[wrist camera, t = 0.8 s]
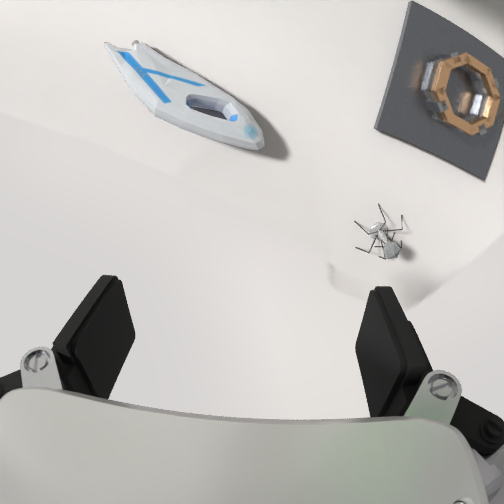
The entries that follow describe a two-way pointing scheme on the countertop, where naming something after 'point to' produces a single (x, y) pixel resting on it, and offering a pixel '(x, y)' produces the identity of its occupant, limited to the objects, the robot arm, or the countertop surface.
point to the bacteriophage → (384, 239)
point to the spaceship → (185, 97)
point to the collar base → (444, 92)
